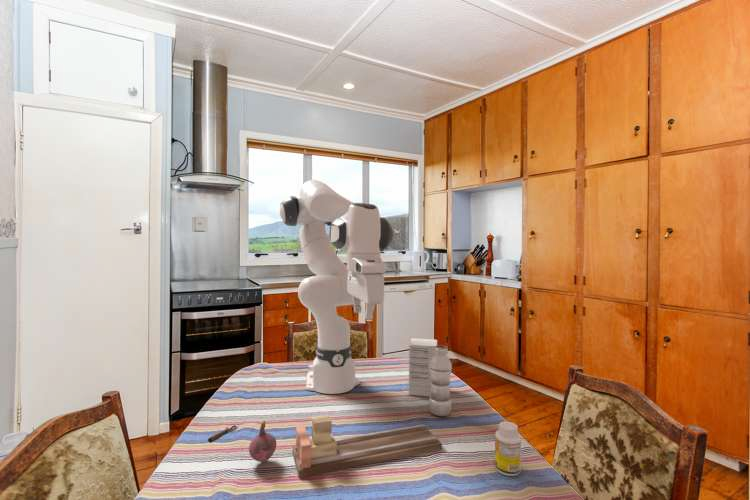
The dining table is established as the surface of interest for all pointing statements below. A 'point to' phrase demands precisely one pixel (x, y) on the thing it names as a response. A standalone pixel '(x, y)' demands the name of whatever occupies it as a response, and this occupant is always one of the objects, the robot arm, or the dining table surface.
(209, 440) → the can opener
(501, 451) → the supplement bottle
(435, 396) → the plastic bottle
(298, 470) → the rail board
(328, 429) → the block
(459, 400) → the dining table surface
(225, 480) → the dining table surface
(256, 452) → the vegetable
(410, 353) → the supplement box
